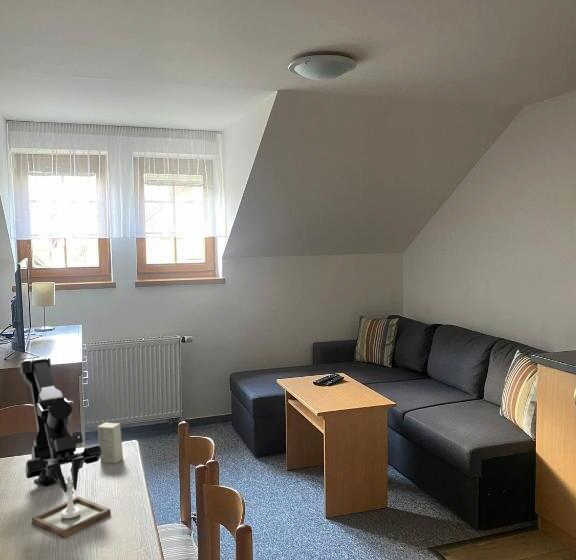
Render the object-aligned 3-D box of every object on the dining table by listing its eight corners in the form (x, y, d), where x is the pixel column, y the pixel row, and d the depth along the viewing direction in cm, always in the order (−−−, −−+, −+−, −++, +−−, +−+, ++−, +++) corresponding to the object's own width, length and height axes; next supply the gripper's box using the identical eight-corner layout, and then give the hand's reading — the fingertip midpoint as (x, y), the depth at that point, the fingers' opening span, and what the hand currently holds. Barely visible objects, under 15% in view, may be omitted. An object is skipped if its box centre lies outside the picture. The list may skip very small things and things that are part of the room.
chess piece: (67, 520, 149) (65, 482, 148) (57, 514, 152) (55, 477, 151) (84, 512, 153) (82, 476, 152) (74, 507, 156) (72, 471, 155)
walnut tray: (32, 523, 150) (31, 517, 150) (78, 501, 162) (78, 496, 162) (64, 538, 143) (63, 532, 142) (110, 514, 154) (110, 509, 154)
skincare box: (123, 458, 192) (121, 423, 191) (115, 464, 188) (113, 427, 186) (107, 456, 194) (105, 421, 193) (99, 462, 190) (96, 426, 188)
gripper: (24, 430, 148) (35, 487, 140) (97, 415, 158) (112, 468, 150) (21, 450, 155) (31, 505, 147) (91, 434, 166) (105, 485, 158)
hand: (70, 490), depth 151 cm, fingers closed on chess piece
